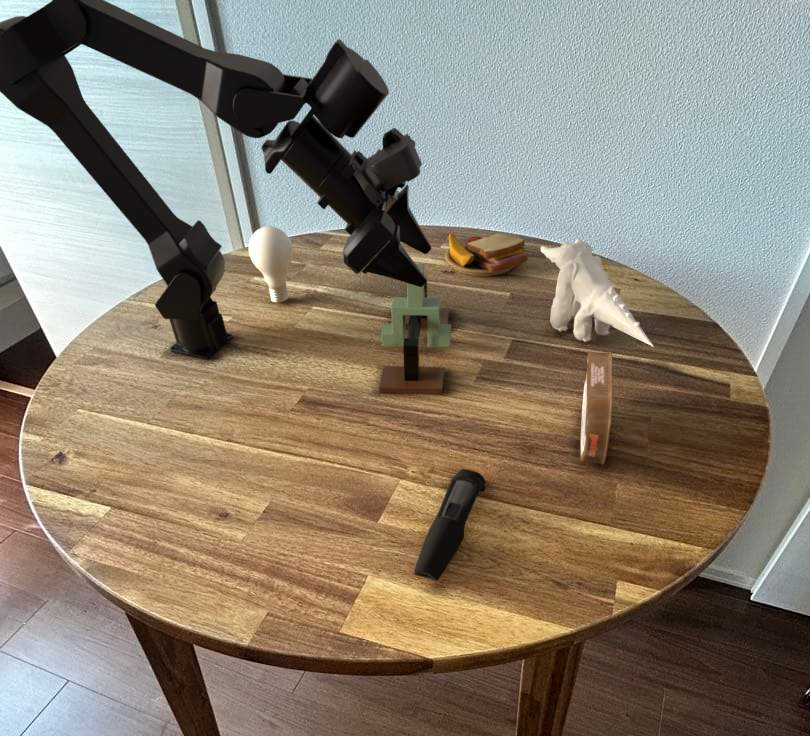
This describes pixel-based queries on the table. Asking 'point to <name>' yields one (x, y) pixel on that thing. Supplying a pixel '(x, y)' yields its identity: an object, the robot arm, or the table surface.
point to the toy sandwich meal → (485, 254)
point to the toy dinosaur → (587, 295)
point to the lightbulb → (272, 259)
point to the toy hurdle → (414, 362)
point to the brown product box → (596, 408)
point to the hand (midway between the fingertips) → (426, 266)
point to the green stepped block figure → (416, 306)
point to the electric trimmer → (449, 524)
